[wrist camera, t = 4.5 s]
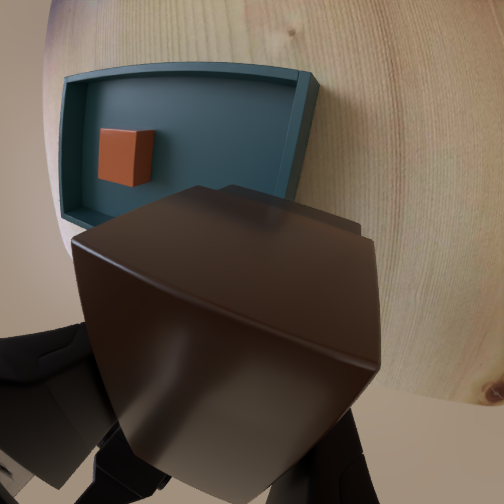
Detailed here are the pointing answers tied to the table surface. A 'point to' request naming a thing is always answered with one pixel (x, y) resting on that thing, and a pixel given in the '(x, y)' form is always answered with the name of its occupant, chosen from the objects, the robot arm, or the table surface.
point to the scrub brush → (229, 331)
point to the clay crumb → (126, 155)
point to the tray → (184, 131)
